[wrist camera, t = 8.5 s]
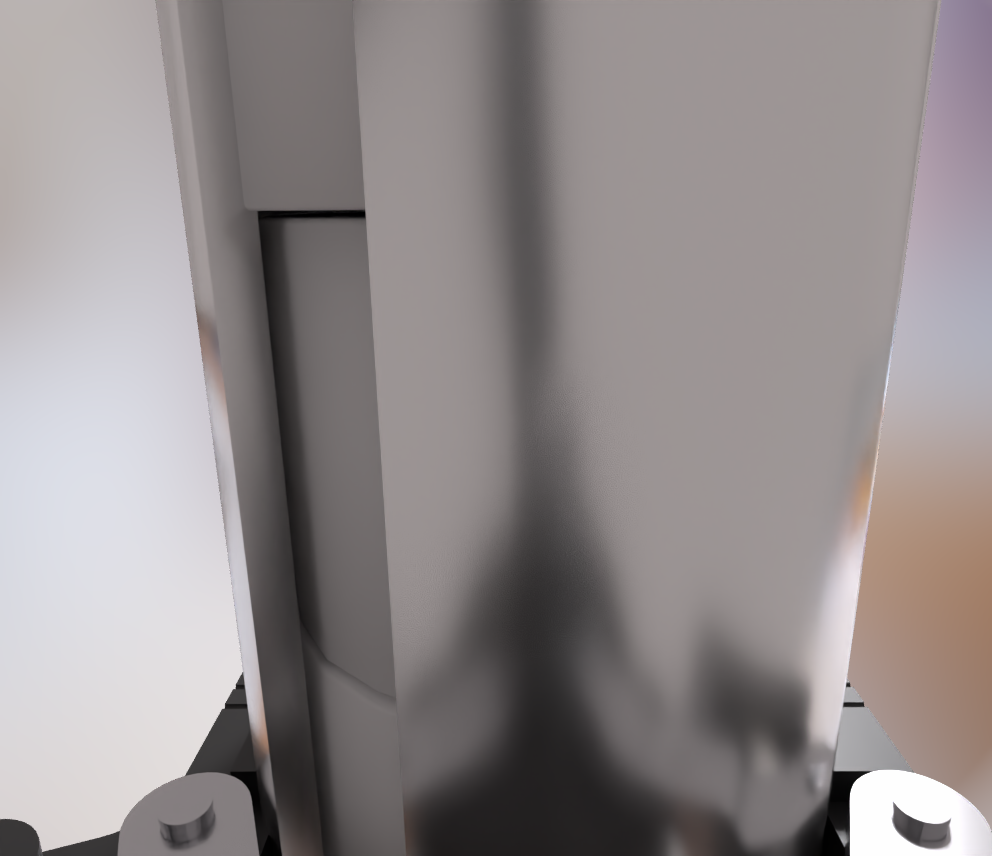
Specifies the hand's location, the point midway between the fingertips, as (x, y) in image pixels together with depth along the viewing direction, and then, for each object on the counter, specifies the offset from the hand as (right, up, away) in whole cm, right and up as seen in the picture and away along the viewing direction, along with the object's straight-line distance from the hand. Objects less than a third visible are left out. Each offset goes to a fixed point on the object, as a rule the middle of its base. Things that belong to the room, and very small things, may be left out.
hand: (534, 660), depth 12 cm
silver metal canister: (0, -14, +2) cm, 14 cm away
